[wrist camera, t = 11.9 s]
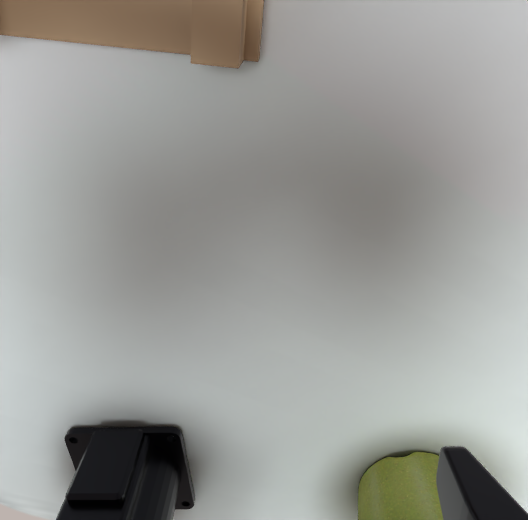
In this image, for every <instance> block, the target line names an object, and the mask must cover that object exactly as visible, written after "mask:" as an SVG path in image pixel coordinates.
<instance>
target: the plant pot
mask: <svg viewBox="0 0 528 520" xmlns="http://www.w3.org/2000/svg"><path fill="white" fill-rule="evenodd" d="M438 461H439V455H435V454H432V453H425V452H414V453H412V454H410V455H408V456H405V457H397V458H394V457H386V458H384V459H382V460H380V461H378V462H376V463H375V464H374V465H372V466H371V467H370V468H369V469H368V470H367V471H366V472H365V473H364V475H363V476H362V478H361V481H360V484H359V490H358V520H443V515H442V510H441V505H440V501H439V496H438V491H437V484H436V474H437V468H438Z"/></svg>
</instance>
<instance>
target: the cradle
mask: <svg viewBox="0 0 528 520" xmlns="http://www.w3.org/2000/svg"><path fill="white" fill-rule="evenodd" d="M263 7H264V0H0V35H8V36H17V37H27V38H36V39H46V40H55V41H65V42H75V43H84V44H94V45H103V46H113V47H122V48H132V49H141V50H151V51H160V52H170V53H179V54H189V55H191V63H192V64H201V65H211V66H221V67H230V68H239V67H240V65H241V64H242V62H243V60H246V61H256V62H258V60H259V55H260V43H261V31H262V19H263Z"/></svg>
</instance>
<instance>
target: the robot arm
mask: <svg viewBox="0 0 528 520" xmlns="http://www.w3.org/2000/svg"><path fill="white" fill-rule="evenodd" d="M173 436H174V437H173ZM65 442H66V445H67V448H68V451H69V453H70V456H71V459H72V462H73V464H74V467H75V470H76V473H75V475H74V477H73V479H72V482H71V484H70V486H69V489H68V491H67V493H66V498H65V500H64V502H63V504H62V507H61V509H60V511H59V514H58V516H57V518H56V520H172V519H173V514H174V510H175V509H190V508H192V507H193V506H194V501H195V496H194V491H193V486H192V481H191V476H190V471H189V466H188V461H187V456H186V451H185V446H184V441H183V436H182V432H181V431H180V430H179V429H178V428H176V427H122V428H72V429H70V430H68V432H67V434H66V436H65ZM436 484H437V491H438V496H439V501H440V505H441V510H442V515H443V520H528V513H527V512H526V511H525V510H524V509H523V508H522V507H521V506H520V505H519V504H518V503H517V502H516V501H515V500H514V499H513V497H512V496H511V495H510V494H509V493H508V492H507V491H506V490H505V489H504V488H503V487H502V486H501V485H500V484H499V483H498V482H497V480H496V479H495V478H494V477H493V476H492V475H491V474H490V473H489V472H488V471H487V470H486V469H485V468H484V467H483V466H482V465H481V463H480V462H479V461H478V460H477V459H476V458H475V457H474V456H473V455H472V454H471V453H470V452H469V451H468V450H467V449H466V448H464V447H461V446H445V447H442V448H441V450H440V455H439V461H438V468H437V474H436Z"/></svg>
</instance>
